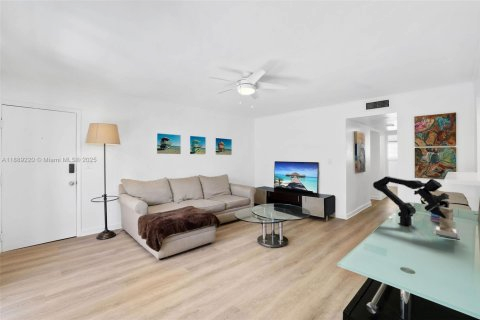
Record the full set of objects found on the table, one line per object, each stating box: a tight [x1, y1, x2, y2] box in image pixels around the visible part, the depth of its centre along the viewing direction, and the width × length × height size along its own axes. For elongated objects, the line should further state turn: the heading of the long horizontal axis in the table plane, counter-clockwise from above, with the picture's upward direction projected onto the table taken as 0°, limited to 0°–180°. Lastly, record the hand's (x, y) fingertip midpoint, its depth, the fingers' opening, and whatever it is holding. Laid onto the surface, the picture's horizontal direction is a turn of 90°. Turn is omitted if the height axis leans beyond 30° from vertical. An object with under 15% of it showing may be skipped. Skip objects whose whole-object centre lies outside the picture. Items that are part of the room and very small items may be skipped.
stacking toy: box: [429, 212, 440, 223], centre depth 162 cm, size 8×8×19 cm
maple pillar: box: [439, 207, 454, 231], centre depth 134 cm, size 5×5×13 cm
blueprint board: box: [432, 224, 461, 241], centre depth 139 cm, size 24×12×4 cm, turn 136°
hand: (449, 217), depth 133 cm, fingers open, 9 cm apart
